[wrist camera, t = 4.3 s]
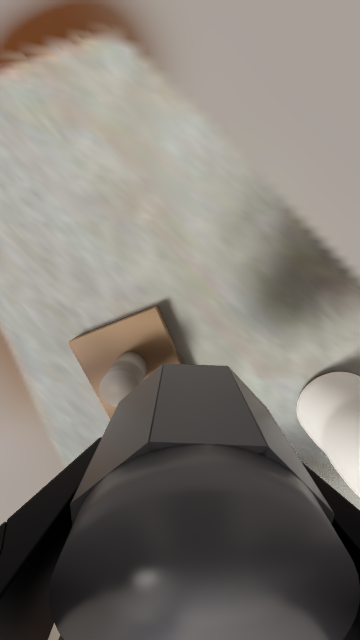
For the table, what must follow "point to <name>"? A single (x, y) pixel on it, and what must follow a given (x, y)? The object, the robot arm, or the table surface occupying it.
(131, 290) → the table surface
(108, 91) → the table surface
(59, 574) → the cap
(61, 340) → the table surface
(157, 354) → the stud block
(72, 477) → the robot arm
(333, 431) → the water bottle
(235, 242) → the table surface
